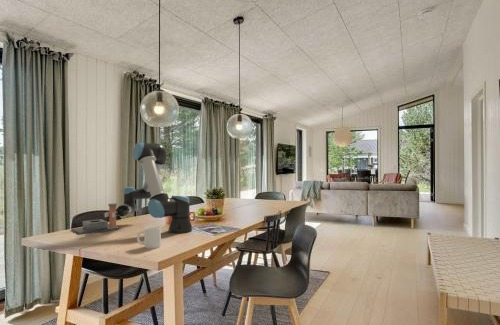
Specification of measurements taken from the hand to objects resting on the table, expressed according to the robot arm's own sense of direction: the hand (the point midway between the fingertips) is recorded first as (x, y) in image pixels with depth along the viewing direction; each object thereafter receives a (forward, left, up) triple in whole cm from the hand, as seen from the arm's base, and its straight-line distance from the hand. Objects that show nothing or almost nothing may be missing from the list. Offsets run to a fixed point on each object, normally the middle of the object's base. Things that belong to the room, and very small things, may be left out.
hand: (109, 215), depth 203 cm
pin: (-4, -4, -9) cm, 10 cm away
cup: (-3, +47, -12) cm, 49 cm away
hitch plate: (+1, -21, -12) cm, 24 cm away
